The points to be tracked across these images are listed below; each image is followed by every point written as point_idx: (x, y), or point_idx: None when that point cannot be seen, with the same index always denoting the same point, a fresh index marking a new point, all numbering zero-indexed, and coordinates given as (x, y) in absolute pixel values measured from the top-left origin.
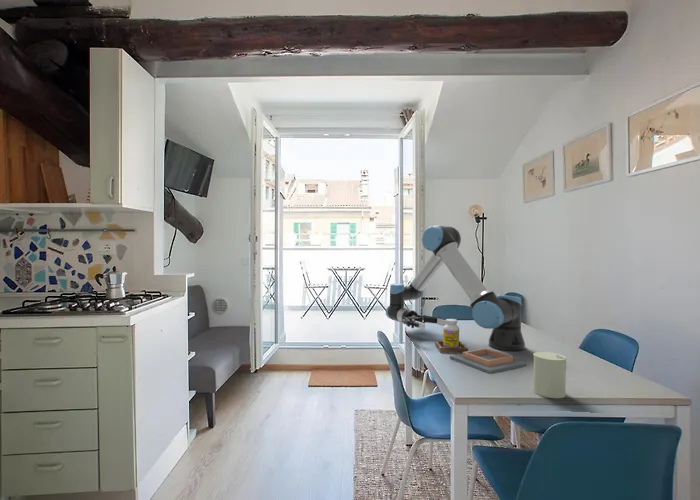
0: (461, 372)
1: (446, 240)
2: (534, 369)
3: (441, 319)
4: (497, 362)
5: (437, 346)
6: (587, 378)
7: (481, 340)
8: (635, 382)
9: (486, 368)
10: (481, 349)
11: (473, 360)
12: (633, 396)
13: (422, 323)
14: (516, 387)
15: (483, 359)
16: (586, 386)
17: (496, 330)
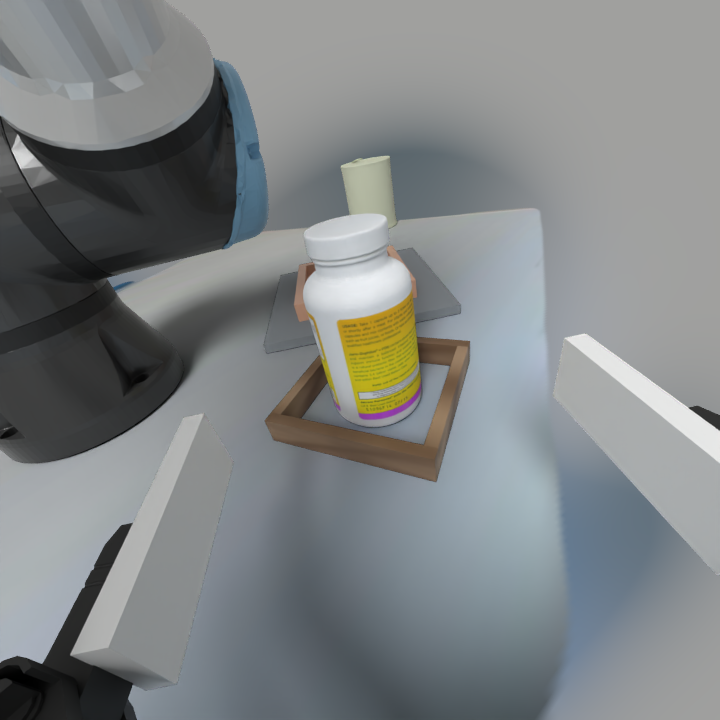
0: (480, 254)
1: None
2: (390, 186)
3: (143, 525)
4: None
5: (454, 405)
6: (257, 253)
7: (25, 525)
8: (216, 250)
9: (409, 253)
10: None
11: None
12: (281, 231)
13: (602, 346)
14: (409, 229)
15: (395, 251)
16: (297, 239)
17: (111, 321)
